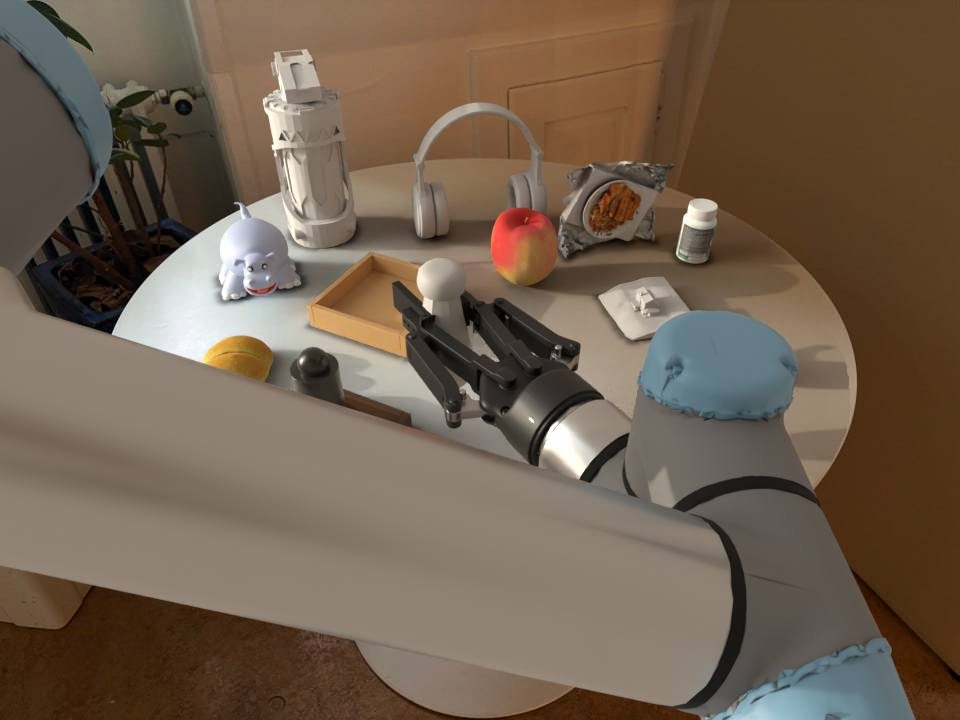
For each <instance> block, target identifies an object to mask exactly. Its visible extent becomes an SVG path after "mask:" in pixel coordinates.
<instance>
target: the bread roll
mask: <svg viewBox="0 0 960 720" xmlns="http://www.w3.org/2000/svg"><path fill="white" fill-rule="evenodd" d="M200 362H201V363H205V364H208V365H211V366H214V367H218V368H221V369H224V370H227V371H230V372H234V373H237V374H240V375H243V376H247V377H250V378H253V379H256V380H259V381H263V382H266V380H267V378H268V377H269V375H270V369H271V367H272V365H273V363H274V353H273V351H272V349H271V348H270V347H269V346H268V345H267V344H266V343H265V342H264V341H263V340H261V339H259V338H258V337H257V338H256V337H254V336H250V335H243V334H239V335H232V336H228V337H226V338H223V339H222V340H219V341H218V342H217V343H216V344H214V345H212V346H211V347H210V348H208V350H207V351H206V352H205V354H204V356H203V358H202V359H201V361H200Z"/></svg>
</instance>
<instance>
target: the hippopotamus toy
mask: <svg viewBox="0 0 960 720" xmlns="http://www.w3.org/2000/svg"><path fill="white" fill-rule="evenodd" d="M233 205H239V209H240V216H241V218H242V219H239V220H236V221H235V222H234V223H233V224H231V225H230V226H229V227H228V228H227V230H226V231H225V232H224V233H223V235H222V238H221V240H220V244H219V254H220V255H219V256H220V258H221V261H222V265H221V269H220V272H219V274H218V281H220V285H221V286H222V289H221V293H220V295H221V296H222V300H223V301H230V300H238V299H239V300H240V299H241V298H242V297H244V298H245V297H247V295H248V293H249V294H250V295H251V296H256V297H266V296H268V295H270V294H272V293H273V292H275V291H276V289H277V288H278V289H280V290H283V289H287V290H289V289H292V288H294V287H300V286H301V285H302V281H301V276H299V274H298V273H297V272H296V271H297V268H296V262H295V261H294V260H293V258H291V257H290V255H289V247H288V246H289V245H288V241H287V239H286V237H285V235H284V233H283V232H282V231H281V230H280V229H279V228H278V227H277V226H275V225H274V224H272V223H271V222H269V221H266V220H264V219H261V218H256V217H252V215H251V212H250V211H249V209H248V207H246V205H245V204H244V203H242V202H240V201H235V202H234V203H233Z"/></svg>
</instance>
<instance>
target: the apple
mask: <svg viewBox="0 0 960 720" xmlns="http://www.w3.org/2000/svg"><path fill="white" fill-rule="evenodd" d="M490 240H491V241H490V253H491V259H492V262H493V265H494V267H495V269H496V270H497V272H498V273H499V274H500V275H501V276H502V277H503V278H504V279H506V280H507V281H509V282H510V283H512V284H514V285H516V286H520V287H528V286H531V285H534V284H537V283H539V282H541V281H542V280H545V278H547V277H548V276H549V275H550V274H551V272H552V271H553V270H554V267H555V265H556V263H557V259H558V253H559V247H558V235H557V232H556V229H555V227H554V225H553V223H552V221H551V220H550V219H549V217H548V216H547V215H546V216H545V215H544V214H542V213H540V212H538V211H535V210H532V209H528V208H512V209H509V210H508V209H507V210H505V211H503V212H501V213H500V214H499V215H498V217H497V218H496V220H495V222H494V225H493V228H492V232H491V238H490Z"/></svg>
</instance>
